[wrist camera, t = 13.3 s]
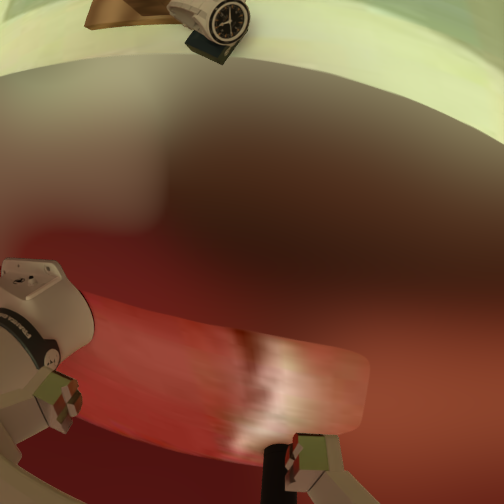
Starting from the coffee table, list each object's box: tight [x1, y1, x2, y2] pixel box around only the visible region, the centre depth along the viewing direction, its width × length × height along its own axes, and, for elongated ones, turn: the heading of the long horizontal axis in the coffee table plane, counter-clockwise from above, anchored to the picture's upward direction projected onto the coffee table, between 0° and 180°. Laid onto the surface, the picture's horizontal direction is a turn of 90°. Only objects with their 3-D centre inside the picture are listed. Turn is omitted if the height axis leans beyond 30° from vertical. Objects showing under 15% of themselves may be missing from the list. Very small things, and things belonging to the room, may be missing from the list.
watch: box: [166, 0, 250, 65], centre depth 23 cm, size 6×8×11 cm
